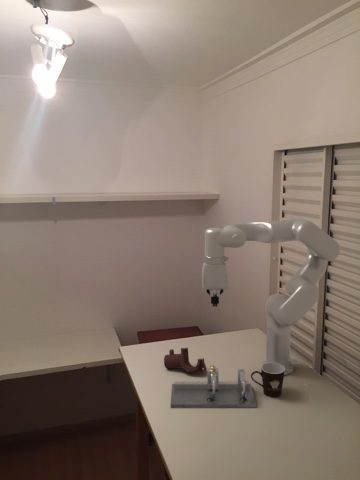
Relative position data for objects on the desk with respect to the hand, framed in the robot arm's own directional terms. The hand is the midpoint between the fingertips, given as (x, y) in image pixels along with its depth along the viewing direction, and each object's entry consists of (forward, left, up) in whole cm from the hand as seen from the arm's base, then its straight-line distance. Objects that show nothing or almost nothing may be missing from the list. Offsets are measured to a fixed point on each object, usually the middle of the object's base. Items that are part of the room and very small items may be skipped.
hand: (214, 305), depth 166 cm
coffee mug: (-19, +14, -29) cm, 38 cm away
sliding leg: (+2, +16, -27) cm, 32 cm away
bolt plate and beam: (+2, +17, -29) cm, 34 cm away
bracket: (+12, -3, -29) cm, 32 cm away
